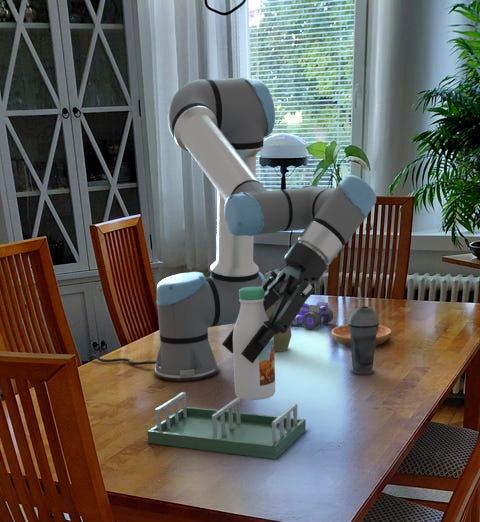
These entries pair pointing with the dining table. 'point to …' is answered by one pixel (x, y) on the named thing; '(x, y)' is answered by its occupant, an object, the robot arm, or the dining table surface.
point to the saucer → (344, 338)
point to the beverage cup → (363, 337)
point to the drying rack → (226, 429)
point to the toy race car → (313, 315)
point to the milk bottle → (247, 325)
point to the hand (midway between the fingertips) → (237, 353)
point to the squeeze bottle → (280, 334)
